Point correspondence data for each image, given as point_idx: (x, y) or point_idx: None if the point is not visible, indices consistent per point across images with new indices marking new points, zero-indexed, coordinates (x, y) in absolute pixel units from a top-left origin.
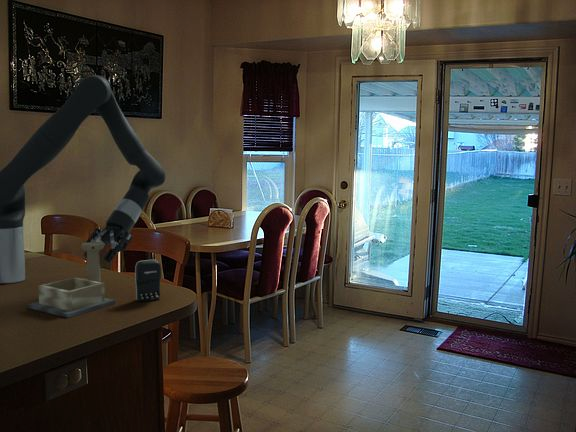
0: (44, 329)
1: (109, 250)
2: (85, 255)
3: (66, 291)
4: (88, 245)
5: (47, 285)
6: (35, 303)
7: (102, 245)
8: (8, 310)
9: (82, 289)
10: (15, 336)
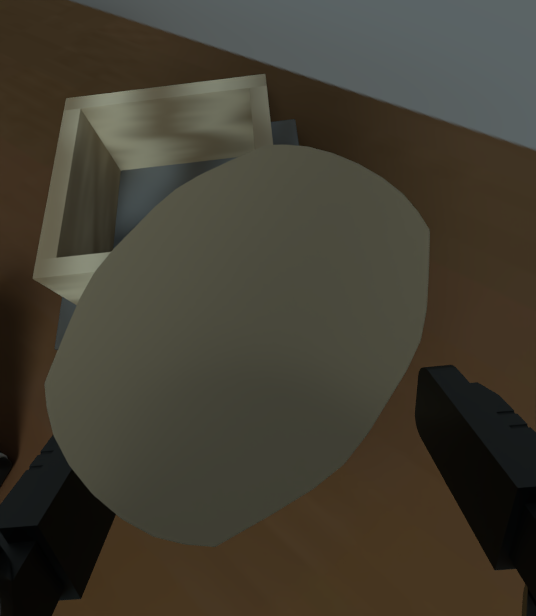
0: (73, 78)
1: (50, 495)
2: (422, 369)
3: (84, 99)
4: (186, 185)
5: (251, 105)
6: (282, 136)
7: (62, 386)
8: (315, 88)
9: (58, 159)
10: (95, 27)
